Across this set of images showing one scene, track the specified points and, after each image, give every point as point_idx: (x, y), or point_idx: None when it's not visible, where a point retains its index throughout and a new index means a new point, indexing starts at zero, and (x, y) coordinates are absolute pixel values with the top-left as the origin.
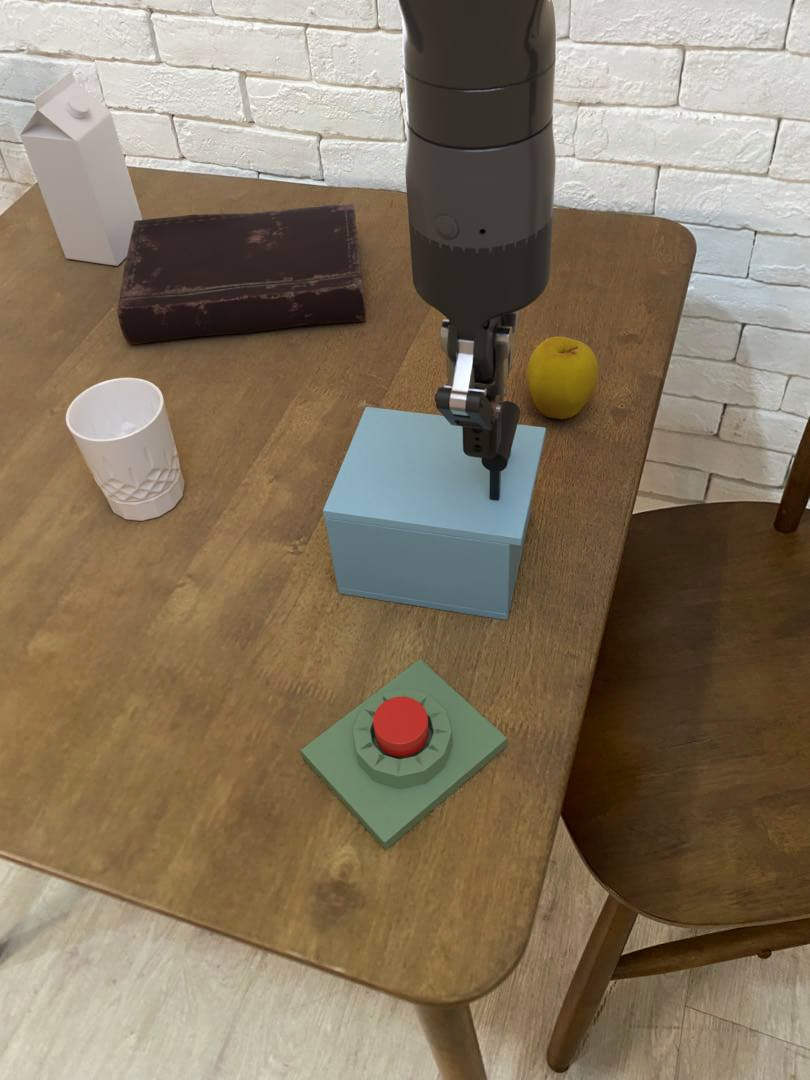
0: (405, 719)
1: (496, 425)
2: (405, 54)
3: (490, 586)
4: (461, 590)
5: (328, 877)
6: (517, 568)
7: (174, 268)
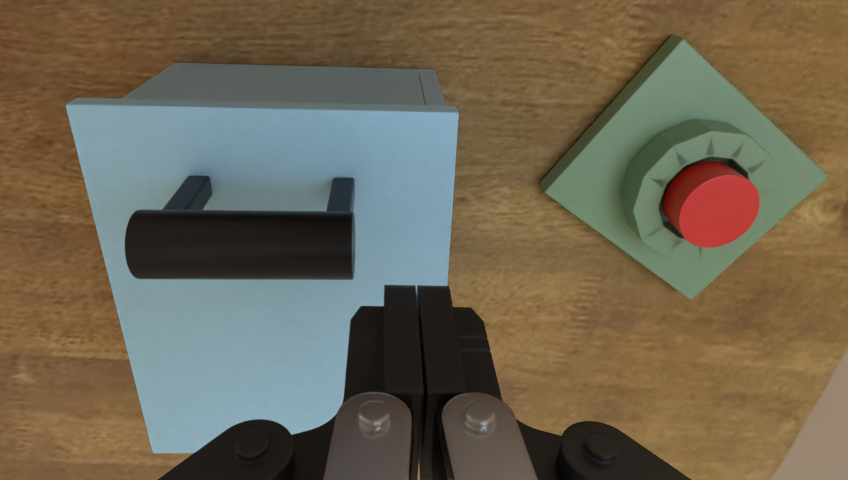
0: (720, 206)
1: (460, 364)
2: None
3: None
4: None
5: (836, 222)
6: (333, 70)
7: None
